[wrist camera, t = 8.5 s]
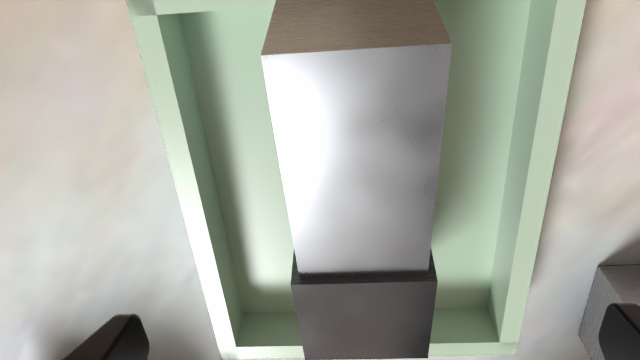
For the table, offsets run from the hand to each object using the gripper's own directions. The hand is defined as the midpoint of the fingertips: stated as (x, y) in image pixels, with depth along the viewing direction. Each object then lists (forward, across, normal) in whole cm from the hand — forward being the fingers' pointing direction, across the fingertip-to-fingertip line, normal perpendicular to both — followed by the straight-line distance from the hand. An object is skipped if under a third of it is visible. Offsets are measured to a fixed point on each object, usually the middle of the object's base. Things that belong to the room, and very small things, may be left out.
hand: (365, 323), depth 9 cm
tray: (+10, 0, +2) cm, 11 cm away
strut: (+9, 0, +1) cm, 9 cm away
